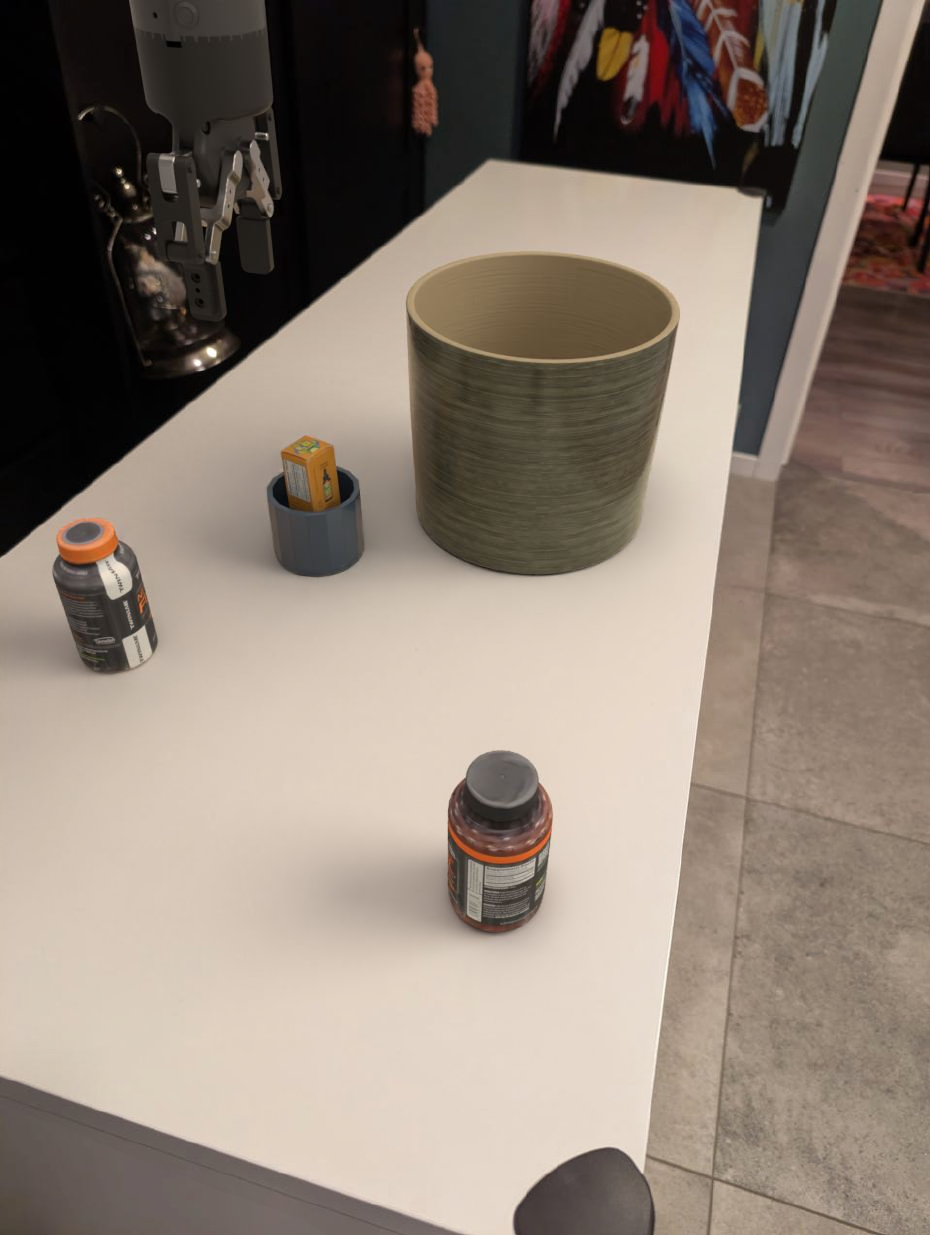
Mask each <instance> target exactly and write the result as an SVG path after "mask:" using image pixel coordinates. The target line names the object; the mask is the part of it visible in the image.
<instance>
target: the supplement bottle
mask: <svg viewBox="0 0 930 1235" xmlns="http://www.w3.org/2000/svg"><path fill="white" fill-rule="evenodd" d="M553 820H554V811H553V805H552V801H551V797H550V795H549V794H548V792H547V790H546V789H545V787H544V786H543V785H542V783H540V779H539V774H538V770H537V768H536V767H535V765H534V764H533V763H532V762H531V760H529V759H528V758H527V757H525V756H524V755H522V754H520V753H518V752H514V751H511V750H505V749H504V750H503V749H502V750H499V749H497V750H492V751H491V750H490V751H488V752H485V753H482V754H479V756H477V757H476V758H475V759H474V760H472V762H470V764H469V765H468V767H467V770H466V773H465V777H464V778H463V779H462V780H460V781H459V783H458V784H457V785H456V786H455V788H454V789H453V791H452V793H451V795H450V798H449V800H448V806H447V889H448V896H449V899H450V902H451V905H452V906H453V909H454V911H456V913H457V915H458V916H459V917H460V918H461V919H462V920H463V921H464V922H465V923H467V924H469V925H471V926H473V927H474V928H476V929H479V930H482V931H485V932H490V933H503V932H508V931H513V930H516V929H518V928H521V927H522V926H524V925H526V924H527V923H528V922H530V920H532V918H534V916H535V915H537V912H538V911H539V909H540V908H541V905H542V902H543V898H544V895H545V890H546V882H547V881H546V880H547V874H548V873H547V871H548V866H549V865H548V864H549V857H550V848H551V839H552V830H553Z"/></svg>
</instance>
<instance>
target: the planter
mask: <svg viewBox="0 0 930 1235" xmlns="http://www.w3.org/2000/svg"><path fill="white" fill-rule="evenodd" d="M405 313H406V314H405V317H406V342H407V344H406V345H407V366H408V368H407V370H408V386H409V387H408V389H409V409H410V410H409V412H410V429H411V442H412V456H413V457H412V458H413V459H412V460H413V473H414V475H413V476H414V492H415V507H416V513H417V517H418V520H419V522H420V524H421V526H422V528H423V529H424V531H425V532H426V534H427V535H428V536H429V537H430V538H431V539H432V540H433V541H434V542H435V543H436V544H437V545H439V546H440V547H441V548H442V549H444V550H445V551H447V552H449V553H450V554H452V555H453V556H455V557H457V558H460V559H461V560H464V561H466V562H468V563H471V564H474V565H477V566H480V567H483V568H486V569H490V570H495V571H499V572H505V573H511V574H524V575H550V574H561V573H567V572H572V571H573V572H574V571H577V570H581V569H584V568H588V567H591V566H594V565H597V564H599V563H601V562H604V561H605V560H607V559H610V558H611V557H613V556H614V555H616V554H617V553H619V552H620V551H621V550H623V549H624V548H625V547H626V546H627V545H628V544H629V543H630V542H631V541H632V539H634V536H635V535H636V533H637V532H638V530H639V527H640V525H641V521H642V516H643V511H644V507H645V500H646V495H647V491H648V485H649V480H650V476H651V470H652V465H653V462H654V456H655V451H656V446H657V443H658V436H659V432H660V426H661V422H662V417H663V412H664V406H665V401H666V395H667V391H668V385H669V379H670V375H671V374H670V373H671V369H672V363H673V358H674V352H675V346H676V341H677V335H678V330H679V325H680V324H679V323H680V318H681V310H680V305H679V303H678V300H677V299H676V297H675V296H674V294H673V293H672V292H671V291H670V290H669V289H668V288H667V287H665V286H664V285H663V284H662V283H660V282H659V281H658V280H656V279H654V278H653V277H651V276H649V275H647V274H645V273H644V272H641V271H639V270H637V269H634V268H632V267H629V266H626V265H623V264H620V263H617V262H613V261H610V260H607V259H603V258H597V257H593V256H588V255H583V254H582V255H581V254H575V253H565V252H557V251H556V252H555V251H535V250H533V251H529V250H528V251H527V250H526V251H525V250H524V251H506V252H495V253H487V254H481V255H475V256H470V257H467V258H466V257H465V258H462V259H458V260H455V261H452V262H449V263H446V264H443V265H441V266H439V267H437V268H436V267H435V269H433V270H430V271H429V272H427V273H426V274H424V275H422V276H421V277H420V278H418V279H417V280H416V281H415V282H414V283H413V284H412V286H411V287H410V289H409V290H408V292H407V294H406V299H405Z"/></svg>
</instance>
